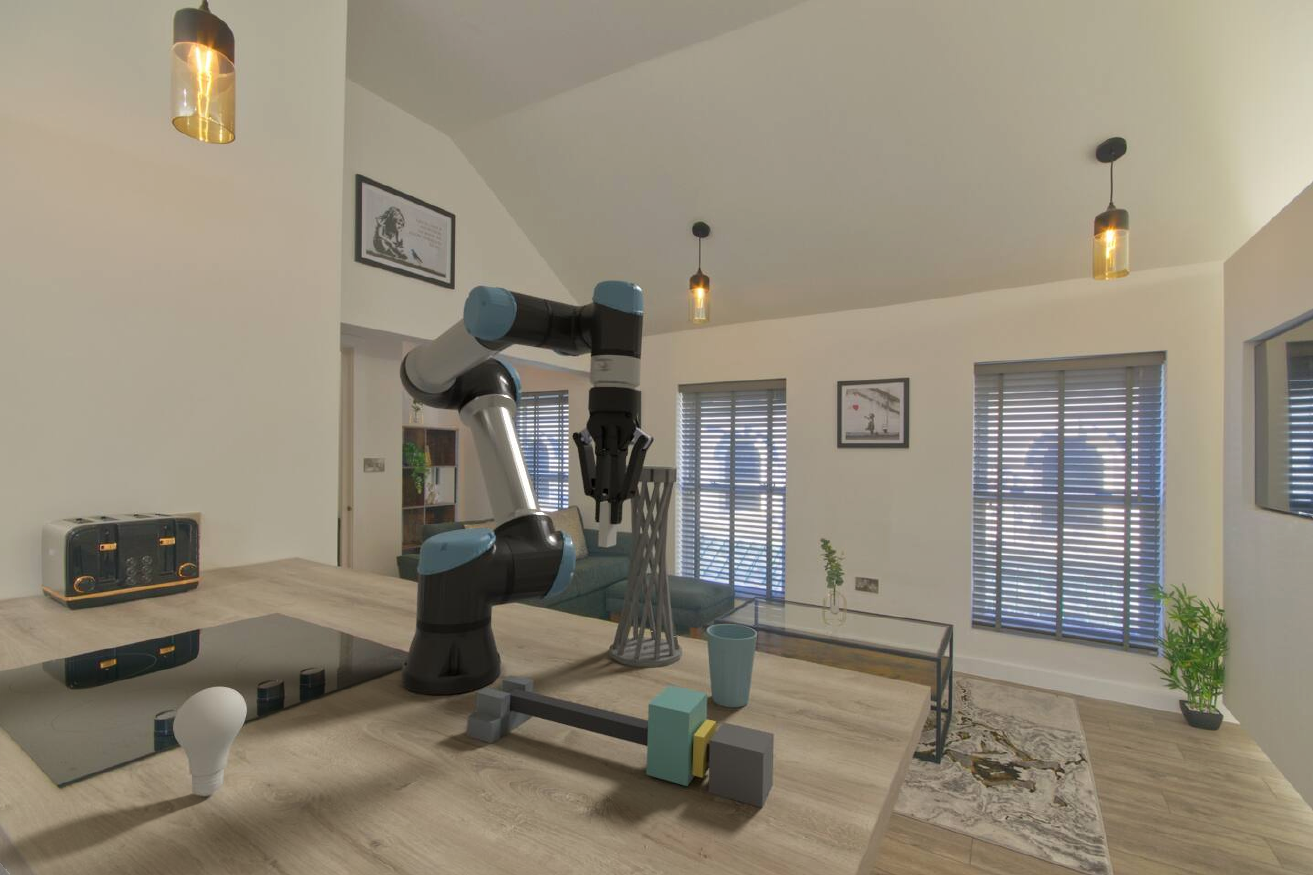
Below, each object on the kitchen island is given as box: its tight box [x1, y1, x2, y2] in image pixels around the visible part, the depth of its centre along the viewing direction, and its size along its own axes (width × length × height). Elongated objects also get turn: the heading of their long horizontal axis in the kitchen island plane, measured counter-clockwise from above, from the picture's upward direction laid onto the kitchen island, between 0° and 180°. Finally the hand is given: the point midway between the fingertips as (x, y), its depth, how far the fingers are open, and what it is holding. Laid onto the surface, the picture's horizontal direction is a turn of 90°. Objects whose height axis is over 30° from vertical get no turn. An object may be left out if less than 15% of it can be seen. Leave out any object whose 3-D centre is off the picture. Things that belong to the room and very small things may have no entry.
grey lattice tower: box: [608, 464, 683, 668], centre depth 107 cm, size 14×13×35 cm
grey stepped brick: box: [466, 674, 534, 744], centre depth 78 cm, size 4×10×5 cm, turn 155°
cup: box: [706, 623, 758, 708], centre depth 87 cm, size 8×8×10 cm
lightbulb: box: [172, 686, 248, 798], centre depth 60 cm, size 6×6×11 cm
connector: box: [708, 721, 775, 809], centre depth 64 cm, size 6×5×6 cm
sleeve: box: [646, 685, 708, 787], centre depth 67 cm, size 5×6×8 cm
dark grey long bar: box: [510, 689, 717, 778], centre depth 70 cm, size 34×4×4 cm, turn 66°
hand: (607, 545), depth 85 cm, fingers closed
